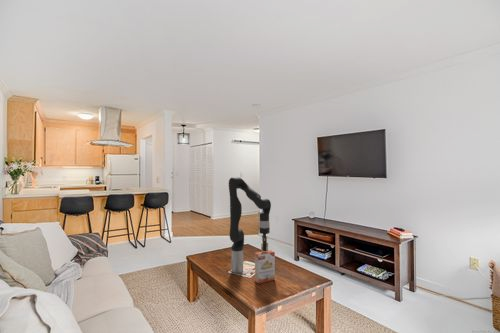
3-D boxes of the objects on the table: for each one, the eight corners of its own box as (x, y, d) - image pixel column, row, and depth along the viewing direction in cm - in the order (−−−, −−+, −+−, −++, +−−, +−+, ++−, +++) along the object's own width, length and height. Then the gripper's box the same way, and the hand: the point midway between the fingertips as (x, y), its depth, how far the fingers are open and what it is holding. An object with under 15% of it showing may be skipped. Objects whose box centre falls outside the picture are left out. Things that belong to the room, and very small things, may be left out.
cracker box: (258, 284, 186) (258, 254, 186) (254, 281, 192) (254, 252, 192) (275, 280, 193) (275, 251, 193) (271, 277, 198) (270, 249, 198)
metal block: (261, 251, 190) (261, 243, 190) (261, 249, 195) (261, 241, 195) (268, 251, 190) (268, 243, 190) (268, 249, 195) (268, 241, 195)
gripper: (259, 224, 200) (259, 246, 200) (259, 228, 185) (259, 252, 185) (269, 224, 199) (269, 246, 199) (269, 228, 185) (270, 252, 185)
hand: (264, 249), depth 192 cm, fingers closed on metal block, 5 cm apart
